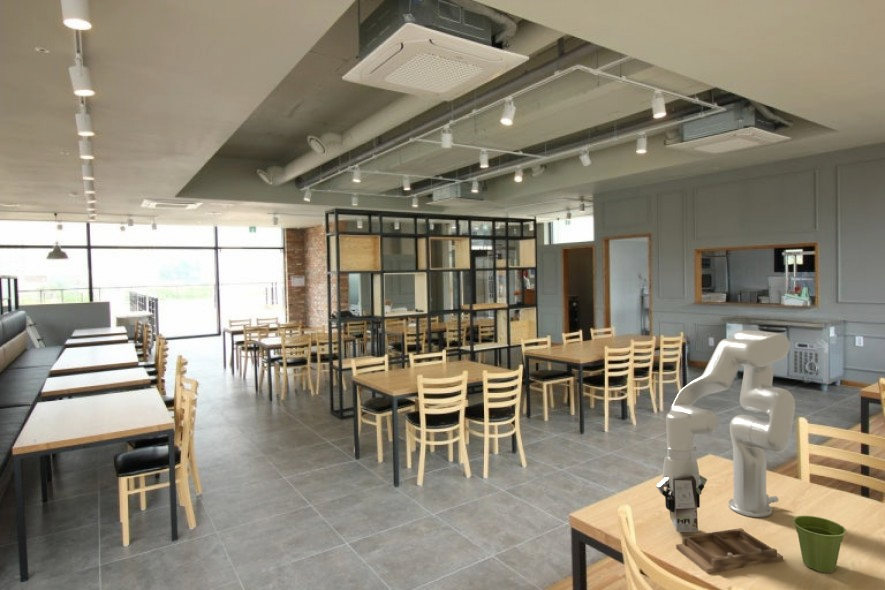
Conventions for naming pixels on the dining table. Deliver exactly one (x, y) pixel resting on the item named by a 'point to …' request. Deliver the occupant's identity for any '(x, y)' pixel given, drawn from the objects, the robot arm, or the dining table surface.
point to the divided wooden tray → (726, 550)
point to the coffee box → (685, 505)
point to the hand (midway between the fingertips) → (682, 507)
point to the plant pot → (819, 541)
